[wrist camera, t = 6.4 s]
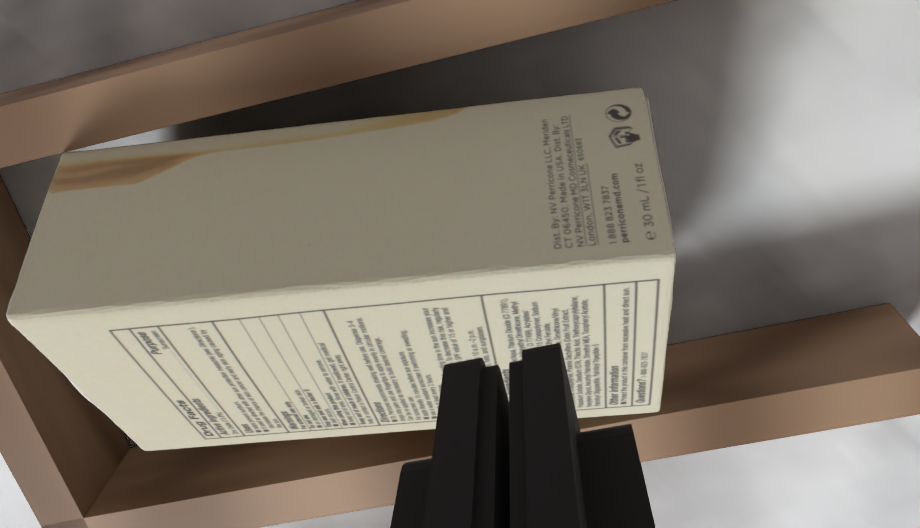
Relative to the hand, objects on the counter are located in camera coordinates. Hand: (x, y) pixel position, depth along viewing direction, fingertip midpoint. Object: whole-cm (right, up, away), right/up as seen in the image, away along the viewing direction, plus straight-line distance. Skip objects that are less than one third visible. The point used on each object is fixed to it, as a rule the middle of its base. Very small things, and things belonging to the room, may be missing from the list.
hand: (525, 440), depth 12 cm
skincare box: (+3, +3, +6) cm, 7 cm away
